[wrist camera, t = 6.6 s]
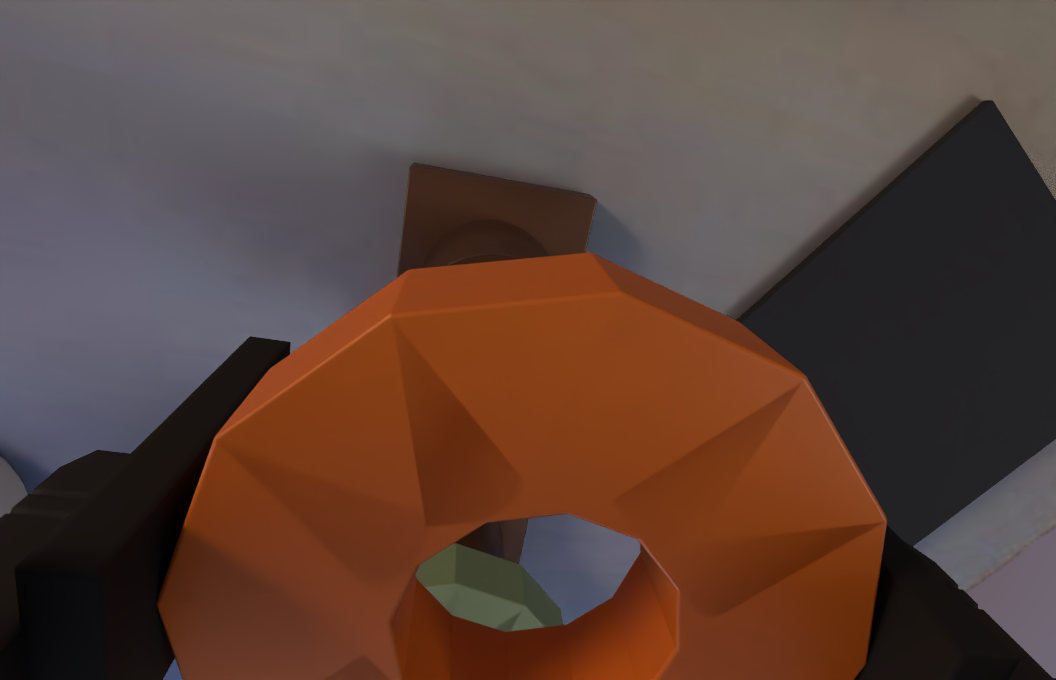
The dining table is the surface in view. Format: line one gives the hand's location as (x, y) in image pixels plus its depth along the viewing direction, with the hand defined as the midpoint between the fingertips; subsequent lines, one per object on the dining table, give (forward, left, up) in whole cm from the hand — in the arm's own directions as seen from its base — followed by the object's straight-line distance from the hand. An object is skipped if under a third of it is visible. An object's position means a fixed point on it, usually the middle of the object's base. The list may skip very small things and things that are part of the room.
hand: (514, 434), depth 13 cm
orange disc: (0, 0, +3) cm, 3 cm away
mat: (-11, +15, -13) cm, 23 cm away
